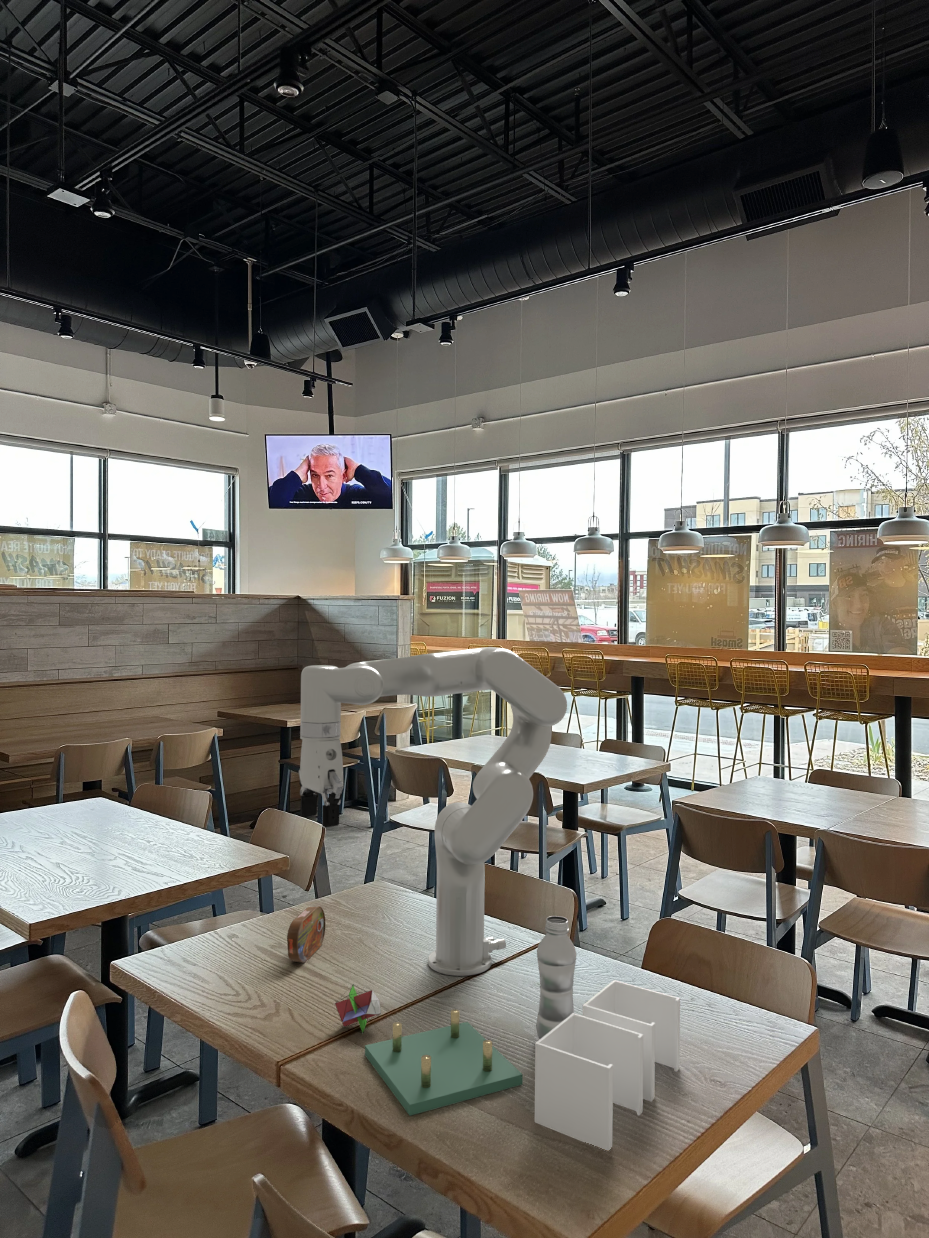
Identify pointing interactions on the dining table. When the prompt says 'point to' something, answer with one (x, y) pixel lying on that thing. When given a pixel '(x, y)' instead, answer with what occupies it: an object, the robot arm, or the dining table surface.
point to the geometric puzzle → (358, 1008)
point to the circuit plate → (441, 1068)
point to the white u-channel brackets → (604, 1060)
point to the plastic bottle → (555, 975)
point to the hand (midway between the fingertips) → (319, 820)
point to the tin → (306, 934)
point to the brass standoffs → (427, 1059)
